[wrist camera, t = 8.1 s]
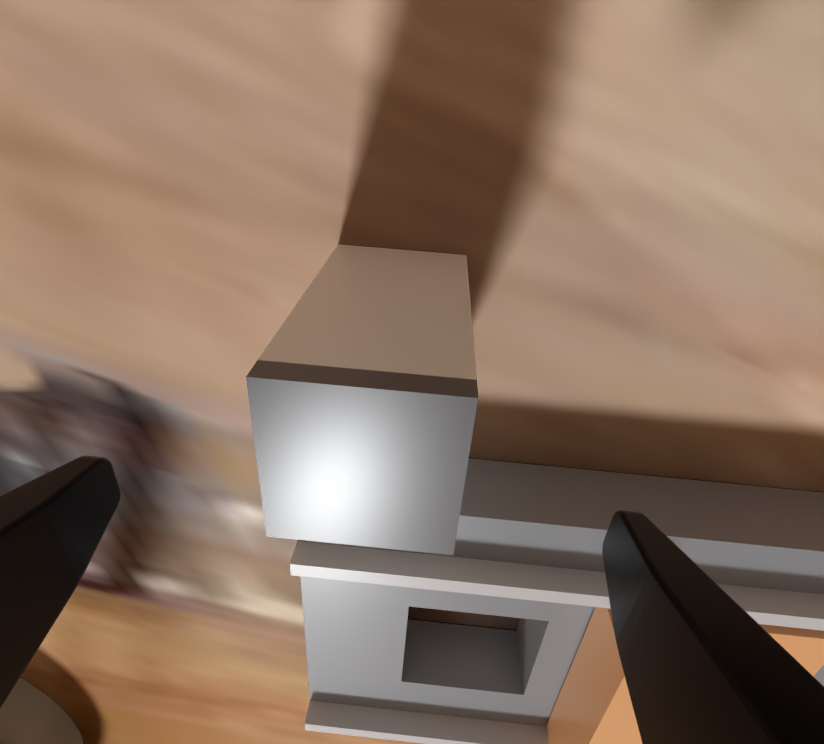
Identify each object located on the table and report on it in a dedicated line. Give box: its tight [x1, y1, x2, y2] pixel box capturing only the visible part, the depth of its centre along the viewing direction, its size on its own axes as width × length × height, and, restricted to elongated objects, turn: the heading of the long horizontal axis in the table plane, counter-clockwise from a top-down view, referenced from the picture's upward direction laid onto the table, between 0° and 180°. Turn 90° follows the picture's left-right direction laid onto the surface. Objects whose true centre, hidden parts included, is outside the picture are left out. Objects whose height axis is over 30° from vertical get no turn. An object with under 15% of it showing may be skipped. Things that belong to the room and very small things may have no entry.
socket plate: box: [290, 458, 824, 744], centre depth 22 cm, size 22×16×4 cm
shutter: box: [546, 607, 824, 744], centre depth 19 cm, size 8×10×3 cm
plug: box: [246, 244, 478, 555], centre depth 13 cm, size 4×4×8 cm
